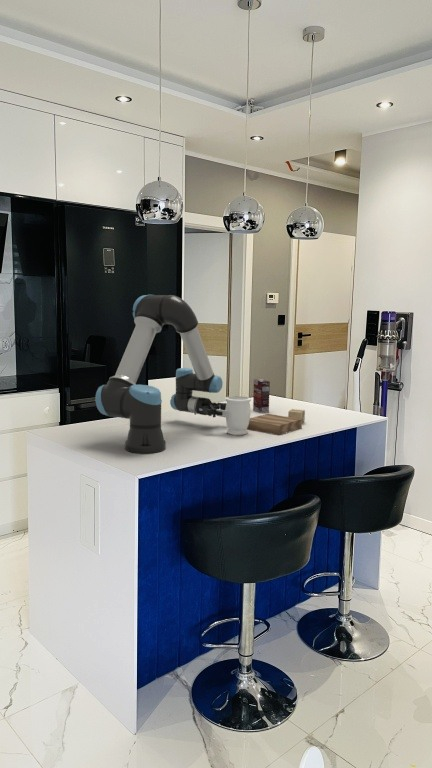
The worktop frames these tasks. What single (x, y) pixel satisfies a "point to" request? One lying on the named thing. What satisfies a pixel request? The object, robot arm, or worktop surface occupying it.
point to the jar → (238, 414)
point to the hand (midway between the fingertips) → (239, 412)
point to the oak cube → (297, 414)
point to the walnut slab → (274, 424)
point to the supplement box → (261, 396)
